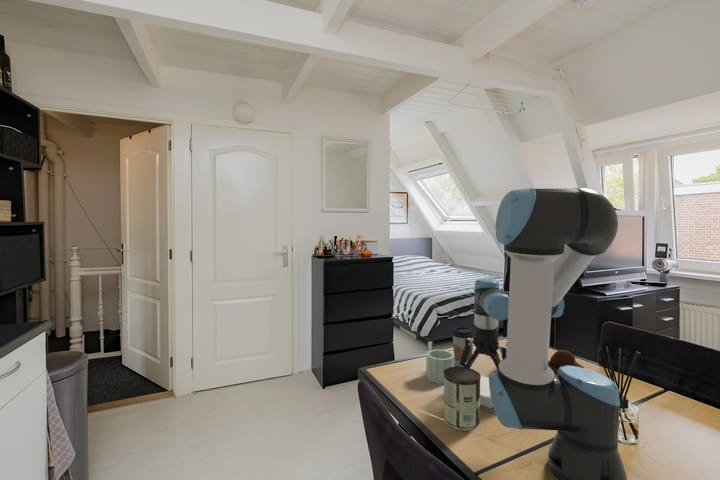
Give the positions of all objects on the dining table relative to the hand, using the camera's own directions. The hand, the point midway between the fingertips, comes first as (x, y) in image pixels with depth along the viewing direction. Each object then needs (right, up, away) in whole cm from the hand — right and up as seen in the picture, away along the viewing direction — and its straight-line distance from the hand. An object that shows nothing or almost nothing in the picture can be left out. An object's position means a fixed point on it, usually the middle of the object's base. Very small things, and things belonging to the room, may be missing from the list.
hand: (485, 392), depth 117 cm
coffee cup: (0, 0, +25) cm, 25 cm away
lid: (0, -1, 0) cm, 1 cm away
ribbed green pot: (-12, -1, +14) cm, 18 cm away
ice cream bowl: (+28, -1, +2) cm, 28 cm away
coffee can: (-12, -2, -15) cm, 19 cm away
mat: (0, -1, 0) cm, 1 cm away
